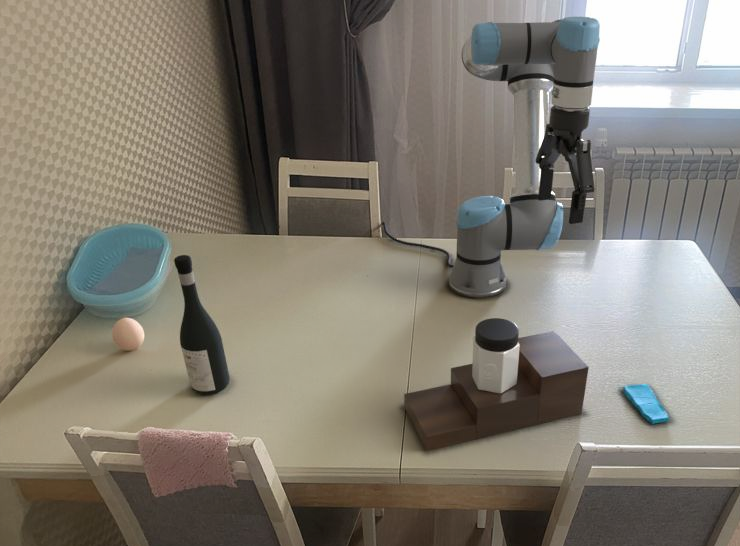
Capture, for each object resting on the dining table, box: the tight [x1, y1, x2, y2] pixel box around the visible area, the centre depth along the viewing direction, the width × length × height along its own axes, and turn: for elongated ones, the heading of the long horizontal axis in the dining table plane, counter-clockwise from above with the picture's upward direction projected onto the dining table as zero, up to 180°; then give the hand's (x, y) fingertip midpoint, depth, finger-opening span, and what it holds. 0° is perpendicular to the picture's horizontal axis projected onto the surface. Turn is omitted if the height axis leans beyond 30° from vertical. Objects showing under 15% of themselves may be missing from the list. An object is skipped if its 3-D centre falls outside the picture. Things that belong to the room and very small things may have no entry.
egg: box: [111, 317, 145, 352], centre depth 155 cm, size 7×7×8 cm
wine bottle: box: [173, 254, 230, 396], centre depth 137 cm, size 8×8×30 cm
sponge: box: [623, 383, 670, 425], centre depth 139 cm, size 2×12×6 cm
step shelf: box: [403, 330, 589, 452], centre depth 135 cm, size 14×33×12 cm, turn 110°
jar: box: [471, 317, 520, 394], centre depth 130 cm, size 9×8×12 cm
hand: (559, 210), depth 143 cm, fingers open, 13 cm apart
